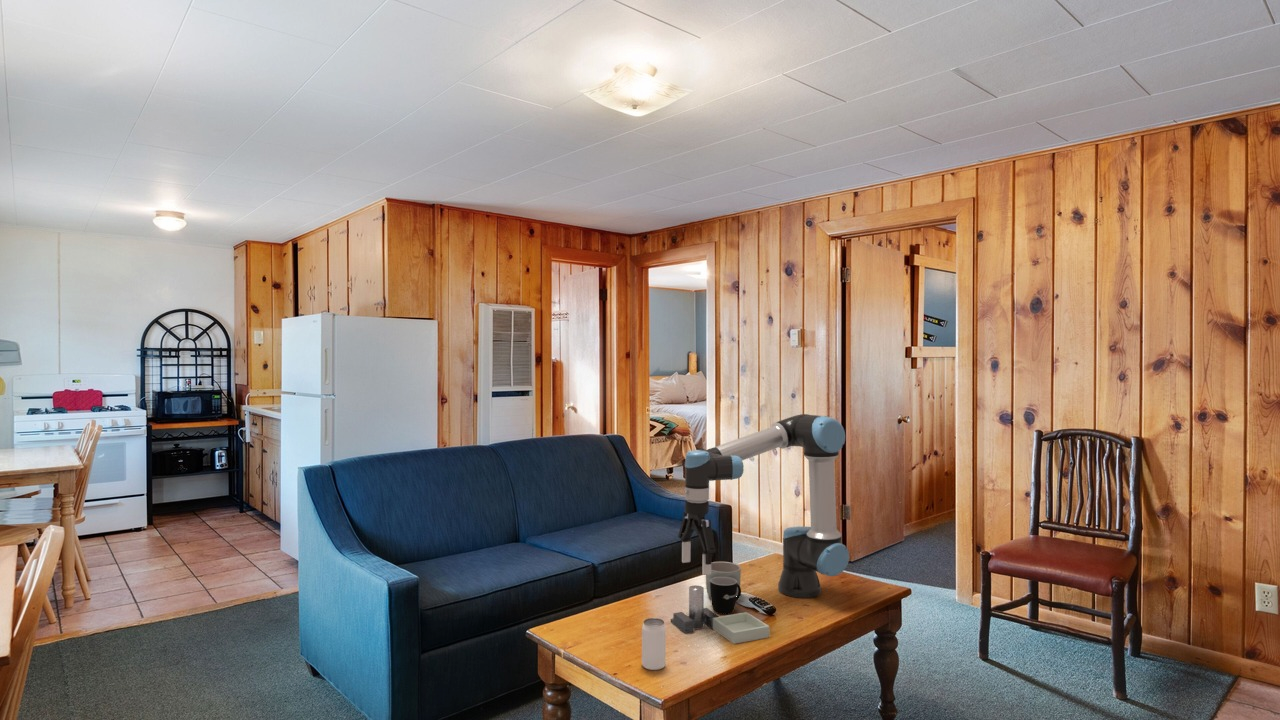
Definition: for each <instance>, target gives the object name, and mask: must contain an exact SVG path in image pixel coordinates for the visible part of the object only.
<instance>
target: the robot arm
mask: <svg viewBox="0 0 1280 720" xmlns="http://www.w3.org/2000/svg"><path fill="white" fill-rule="evenodd" d="M845 441H846V432H845V429H844V427H843V425H842V424H841V422H839V421H838V420H837V419H836V418H833V417H829V416H826V415H815V414H807V413H802V414H796V415H793V416H790V417H787V418H784V419H782V420H778V421H776V422H773V423H772V424H771V426H769V427H767V428H765V429H761V430H759V431H757V432H753V433H751V434H748V435H746V436H743V437H739V438H737V439H734V440H731V441H728V442H726V443H723V444H720V445H717V446H713V447H711V448H709V449H705V450H704V449H696V450H689V451H688V452H686V454H685V459H684V461H685V462H684V467H685V469H684V473H685V474H684V480H685V481H684V487H685V488H684V499H685V501H684V511H683V514H682V521H681V524H680V527H679V532H678V534H677V535H678V536H677V537H678V538H679V539H680V541H681V542H682V543H681V562H682V564H684V563H690V562H691V549H692V548H691V547H692V546H691V544H692V543H691V542H692V541H691V540H692V539H691V537H692V535H693V534H694V532H695V533H696V534H697V535H698V538H699V540H700V545H701V547H702V550H703V551H702V562H701V564H702V566H701V567H702V569H701V570H702V571H701V573H702V576H706V575H708V574H711V563H712V559H713V558H712V555H713V554H714V553H716V552H717V550H716V549H717V548H716V543H715V539H714V535H713V531H712V522H711V521H712V520H711V519H706V515H707V514H709V513H710V512H709V510H710V508H709V507H710V506H709V505H710V502H709V501H708V500H710V482H711V481H712V482H714V481H727V480H730V481H732V480H736V479H740V478H741V477H742V476H743V474H744V471H745V470H744V462H743V461H745V460H747V459H750V458H752V457H756V456H758V455H761V454H764V453H766V452H770V451H771V450H772V451H773V450H776V449H777V448H780V449H781V450H783V449H786V448H789V447H802V448H803V456H804V457H805V459H807V460H808V477H809V479H808V480H809V481H808V482H809V485H808V486H809V513H810V514H809V515H810V526H790V527H786V528H785V529H784V530H783V537H782V550H783V551H782V554H783V555H782V561H783V562H782V571H781V574H780V577H779V581H778V583H777V588H778V589H777V590H778V592H779V593H781V594H782V595H784V596H788V597H793V598H799V599H810V598H815V597H818V596H820V595H821V594H822V586H821V583H820V580H819V577H818V573H819V574H821V575H824V576H828V577H836V576H838V575H840V574H841V573H843V572H844V570H845V569H846V568H847V566H848V564H849V561H850V552H849V549H848V548H847V546H846V545H845V544H843V542H842V541H843V540H842V539H843V538H842V533H841V532H840V531H839V530H838V529H837V527H838V526H837V503H836V502H837V501H836V500H837V499H836V475H835V474H836V473H835V468H836V467H835V461H836V459H837V458H838V457H839V456H840V455H839V453H840V452H839V451H840V450H841V449H842V448H843V446H844V445H845Z"/></svg>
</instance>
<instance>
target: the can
mask: <svg viewBox="0 0 1280 720" xmlns="http://www.w3.org/2000/svg"><path fill="white" fill-rule="evenodd" d="M666 630H667V629H666V625H665V620H663V619H661V618H657V617H649V618H646V619H644V620H643V625H642V628H641V666H642V667H643V668H644V669H646V670H649V671H659V670H663V668H665V666H666V655H667V653H666V651H667V650H666V647H667V646H666V645H667V644H666V643H667V642H666V637H667V636H666V632H667V631H666Z"/></svg>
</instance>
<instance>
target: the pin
mask: <svg viewBox="0 0 1280 720" xmlns="http://www.w3.org/2000/svg"><path fill="white" fill-rule="evenodd" d="M704 592H705V588H704V587H703V586H702V585H697V584H696V585H691V586H690V585H689V586H688V616H689V618H691V619H692V620H693V621H694V630H698V629H699V630H700V629H703V628H704V624H703V621H704V607H705V606H704V605H705V604H704V601H705V599H704V597H705V596H704Z"/></svg>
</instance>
